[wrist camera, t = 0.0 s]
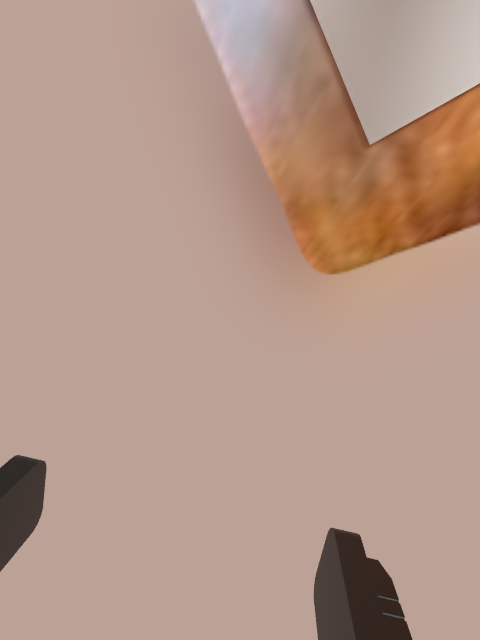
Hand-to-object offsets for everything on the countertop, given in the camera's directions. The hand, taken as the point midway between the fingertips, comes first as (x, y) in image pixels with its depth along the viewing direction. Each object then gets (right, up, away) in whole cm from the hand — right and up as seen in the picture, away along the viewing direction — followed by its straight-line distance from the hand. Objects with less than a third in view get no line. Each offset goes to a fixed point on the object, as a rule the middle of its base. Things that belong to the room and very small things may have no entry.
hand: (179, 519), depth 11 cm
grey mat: (+14, +27, +18) cm, 35 cm away
